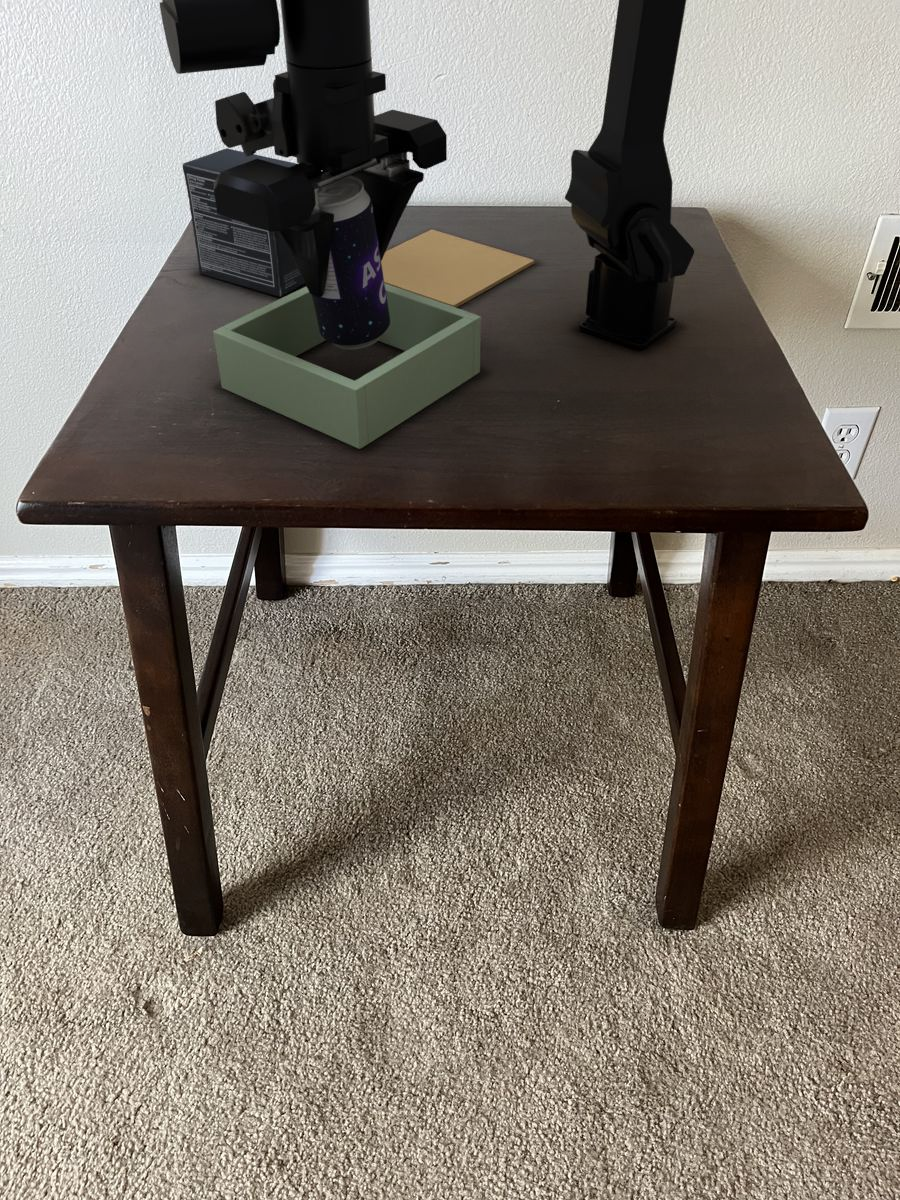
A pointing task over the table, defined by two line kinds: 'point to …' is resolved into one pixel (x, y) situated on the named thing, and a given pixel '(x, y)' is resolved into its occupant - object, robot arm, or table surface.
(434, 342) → the frame
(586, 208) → the robot arm
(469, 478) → the table surface
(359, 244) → the beverage can
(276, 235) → the small box
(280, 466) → the table surface
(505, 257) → the mat
